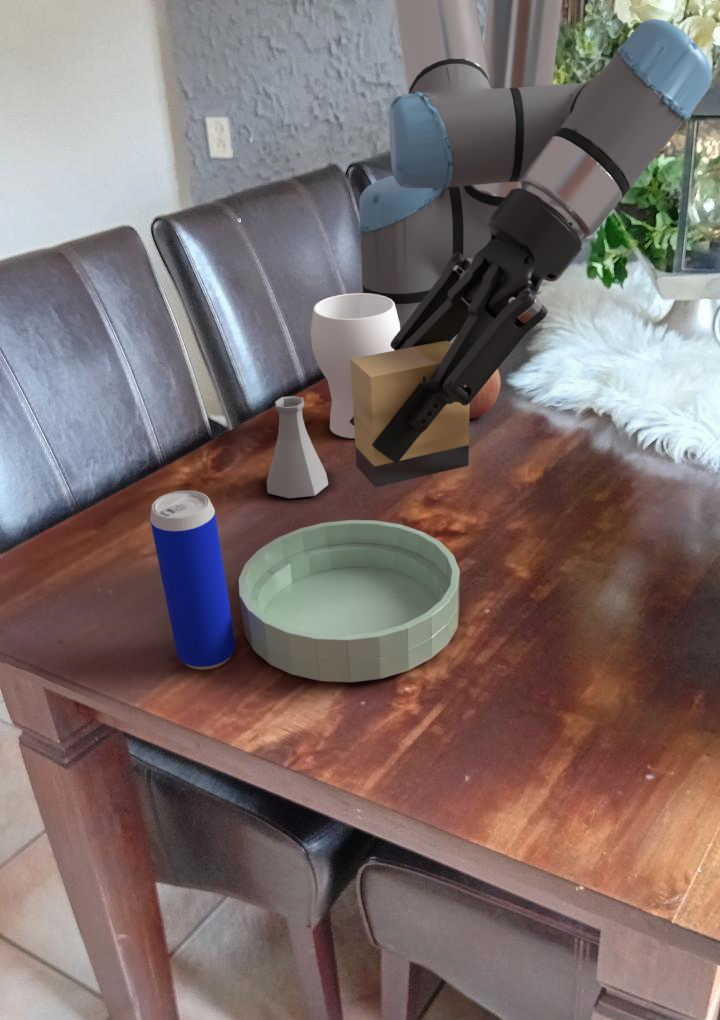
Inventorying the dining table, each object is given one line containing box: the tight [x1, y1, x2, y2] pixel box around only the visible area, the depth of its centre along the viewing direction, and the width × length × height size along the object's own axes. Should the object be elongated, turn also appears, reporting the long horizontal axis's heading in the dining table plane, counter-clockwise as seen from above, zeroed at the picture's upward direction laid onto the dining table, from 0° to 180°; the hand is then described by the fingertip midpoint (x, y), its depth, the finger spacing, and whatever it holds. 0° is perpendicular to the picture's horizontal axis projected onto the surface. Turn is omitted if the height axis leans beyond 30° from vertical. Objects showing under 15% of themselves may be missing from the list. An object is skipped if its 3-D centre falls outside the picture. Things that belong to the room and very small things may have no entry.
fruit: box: [469, 368, 501, 420], centre depth 124 cm, size 8×8×8 cm
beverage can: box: [149, 490, 237, 671], centre depth 84 cm, size 5×5×15 cm
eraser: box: [351, 341, 470, 488], centre depth 87 cm, size 9×4×10 cm, turn 112°
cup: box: [310, 292, 400, 439], centre depth 121 cm, size 11×11×15 cm
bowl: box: [238, 519, 461, 683], centre depth 90 cm, size 19×19×5 cm
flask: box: [266, 395, 329, 499], centre depth 110 cm, size 7×7×10 cm
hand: (372, 442), depth 87 cm, fingers closed on eraser, 4 cm apart
